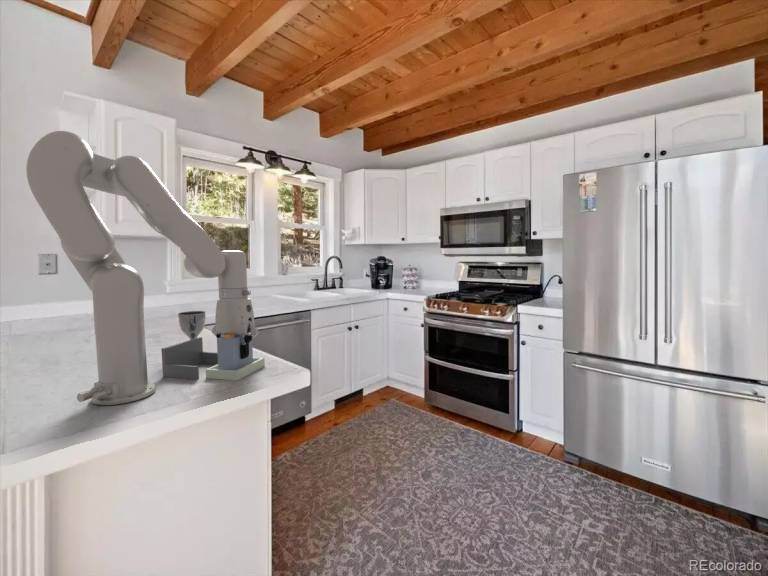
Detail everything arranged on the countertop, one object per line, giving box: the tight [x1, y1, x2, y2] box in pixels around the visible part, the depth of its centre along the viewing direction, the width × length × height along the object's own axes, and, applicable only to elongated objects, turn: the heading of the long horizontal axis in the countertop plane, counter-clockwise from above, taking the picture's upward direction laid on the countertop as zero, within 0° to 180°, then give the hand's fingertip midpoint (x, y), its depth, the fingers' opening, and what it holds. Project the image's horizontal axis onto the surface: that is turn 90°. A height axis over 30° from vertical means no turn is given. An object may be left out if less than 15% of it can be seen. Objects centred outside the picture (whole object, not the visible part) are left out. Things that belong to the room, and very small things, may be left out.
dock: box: [161, 337, 218, 380], centre depth 107 cm, size 15×11×8 cm
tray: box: [205, 356, 266, 382], centre depth 106 cm, size 14×10×2 cm
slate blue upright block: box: [216, 332, 254, 370], centre depth 105 cm, size 5×9×10 cm, turn 167°
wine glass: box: [177, 310, 206, 340], centre depth 121 cm, size 8×8×15 cm
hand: (235, 356), depth 105 cm, fingers closed on slate blue upright block, 5 cm apart
